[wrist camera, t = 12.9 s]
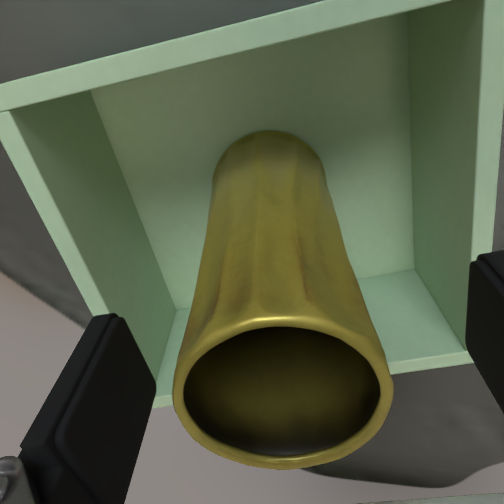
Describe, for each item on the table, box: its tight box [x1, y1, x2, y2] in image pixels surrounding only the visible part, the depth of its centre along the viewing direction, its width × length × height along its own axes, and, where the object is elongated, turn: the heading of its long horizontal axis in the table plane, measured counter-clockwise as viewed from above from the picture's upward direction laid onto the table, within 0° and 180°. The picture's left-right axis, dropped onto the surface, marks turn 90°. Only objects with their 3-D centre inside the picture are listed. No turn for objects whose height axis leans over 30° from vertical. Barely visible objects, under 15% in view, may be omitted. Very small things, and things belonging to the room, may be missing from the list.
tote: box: [0, 0, 504, 408], centre depth 19 cm, size 16×17×8 cm
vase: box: [172, 131, 394, 470], centre depth 16 cm, size 6×6×14 cm
